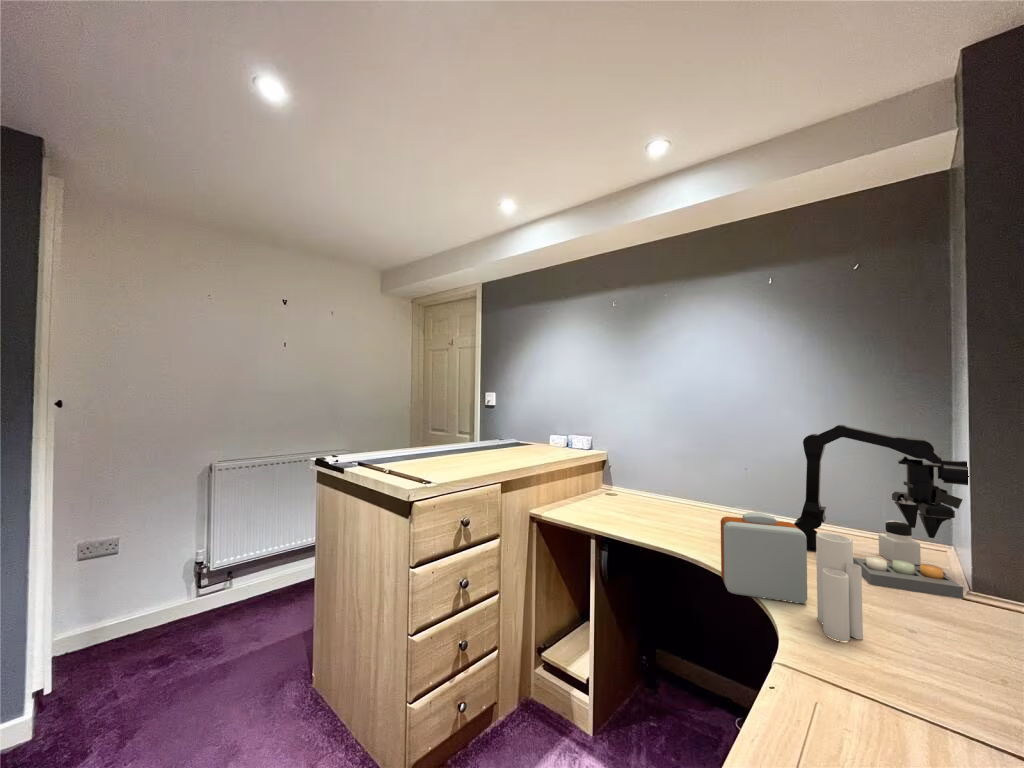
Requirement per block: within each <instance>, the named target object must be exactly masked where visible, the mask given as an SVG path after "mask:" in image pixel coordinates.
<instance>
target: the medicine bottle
mask: <svg viewBox="0 0 1024 768" xmlns="http://www.w3.org/2000/svg"><path fill="white" fill-rule="evenodd" d="M912 530H913V528H911V527H910V526H909V525H908V523H907V522H906V523H905V522H904V521H903V522H902V521H898V520H887V521H886V522H885V533H881V532H879V533H878V535H877V537H878V555H880V556H881V557H883V558H885V559H886V560H888V561H889V562H891V563H893V560H900V561H905V562H909V563H911V564H913V565H914V566H920V564H922V562H921V542H919V541H917V540H915V539H913V536H912V535H913V534H912V532H913V531H912Z"/></svg>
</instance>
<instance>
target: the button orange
mask: <svg viewBox="0 0 1024 768" xmlns="http://www.w3.org/2000/svg"><path fill="white" fill-rule="evenodd" d="M919 566H920V574H921V575H923V576H924V577H927V578H934V579H941V580H943V574H944V569H943V568H942V567H940V566H937V565H935V564H934V565H933V564H930V563H921V564H920V565H919Z"/></svg>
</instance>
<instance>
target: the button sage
mask: <svg viewBox="0 0 1024 768" xmlns="http://www.w3.org/2000/svg"><path fill="white" fill-rule="evenodd" d="M892 563H893V571H895V572H896V573H899V574H906V575H913V576H915V573H914V566H915V565H913V564H911V563H909V562H905V561H900V560H893V562H892Z"/></svg>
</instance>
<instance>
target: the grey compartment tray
mask: <svg viewBox="0 0 1024 768" xmlns="http://www.w3.org/2000/svg"><path fill="white" fill-rule="evenodd" d="M853 564H856V565H859V566H861V570H862V578H863V579H864V580H865V581H866V582H867V583H868V584H870V585H872V586H878V587H884V588H890V589H898V590H905V591H911V592H916V593H921V594H929V595H936V596H944V597H950V598H956V599H964V586H962V585H961V584H959V583H957V582H956V581H955V580H953V579H952V578H950V576H947V575H946V574H944V573H943V580H941V579H934V578H927V577H924V576H923V575H921V574H920V565H914V573H915V576H913V575H906V574H899V573H896V572H895V571H893V562H892V561H887V572H885V571H878V570H871V569H868V568H867V567H866V558H860V557H853Z"/></svg>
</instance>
